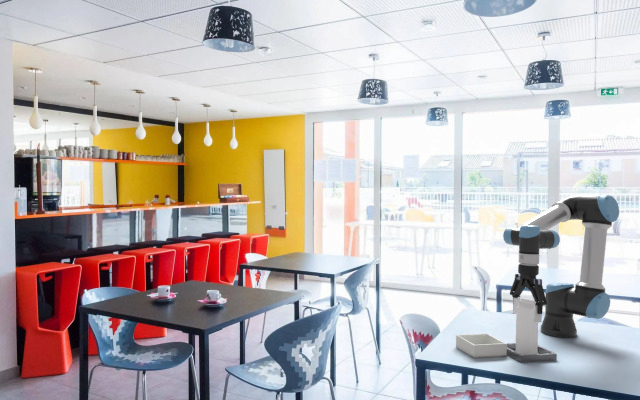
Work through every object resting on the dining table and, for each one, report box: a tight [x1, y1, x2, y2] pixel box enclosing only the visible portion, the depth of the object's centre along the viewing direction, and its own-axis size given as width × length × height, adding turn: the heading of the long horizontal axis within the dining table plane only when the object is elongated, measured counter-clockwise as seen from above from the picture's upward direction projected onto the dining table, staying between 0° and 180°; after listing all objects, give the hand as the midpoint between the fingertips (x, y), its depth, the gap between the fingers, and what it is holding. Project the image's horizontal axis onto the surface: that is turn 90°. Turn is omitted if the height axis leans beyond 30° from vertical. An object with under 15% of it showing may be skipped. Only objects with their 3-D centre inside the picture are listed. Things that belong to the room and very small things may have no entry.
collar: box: [506, 342, 558, 363], centre depth 200 cm, size 16×16×2 cm
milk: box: [515, 298, 539, 355], centre depth 200 cm, size 6×6×22 cm
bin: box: [455, 333, 508, 359], centre depth 203 cm, size 14×14×5 cm
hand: (526, 317), depth 200 cm, fingers open, 13 cm apart
